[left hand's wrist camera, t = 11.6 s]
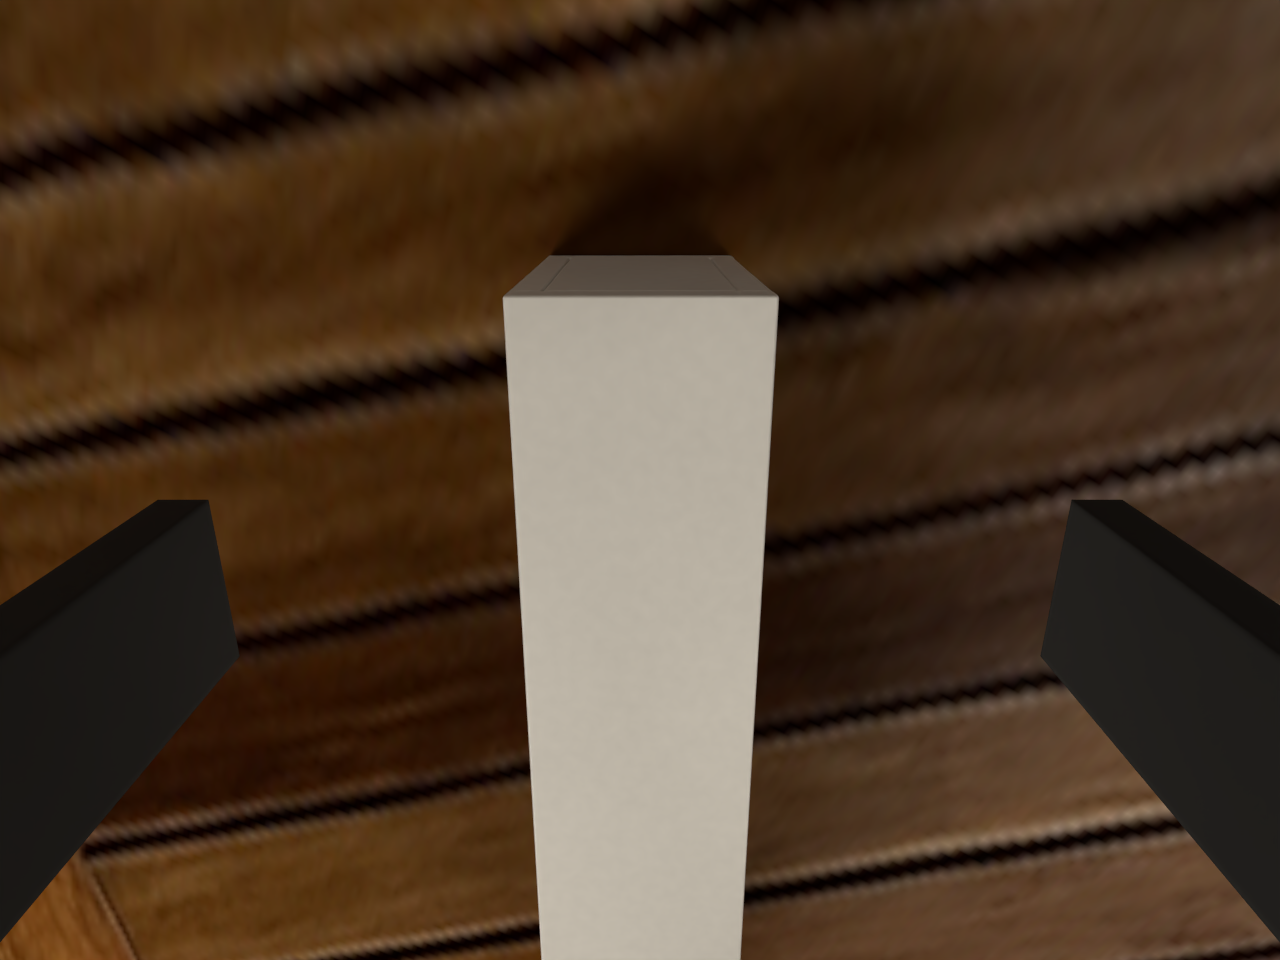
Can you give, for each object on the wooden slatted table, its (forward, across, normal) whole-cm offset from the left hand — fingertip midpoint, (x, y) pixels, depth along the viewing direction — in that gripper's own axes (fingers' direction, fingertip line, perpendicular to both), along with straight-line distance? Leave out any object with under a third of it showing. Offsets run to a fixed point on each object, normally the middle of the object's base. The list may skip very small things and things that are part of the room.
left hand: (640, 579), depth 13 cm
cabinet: (+15, 0, -7) cm, 17 cm away
